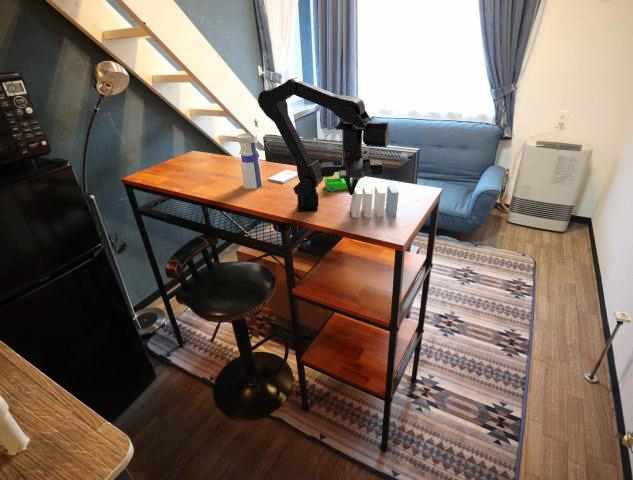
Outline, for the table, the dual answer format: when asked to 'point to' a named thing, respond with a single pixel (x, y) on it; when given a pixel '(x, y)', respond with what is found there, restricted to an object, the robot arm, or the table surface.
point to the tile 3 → (379, 201)
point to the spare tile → (392, 200)
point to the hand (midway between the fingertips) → (350, 194)
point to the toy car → (335, 183)
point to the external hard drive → (283, 177)
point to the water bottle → (250, 160)
